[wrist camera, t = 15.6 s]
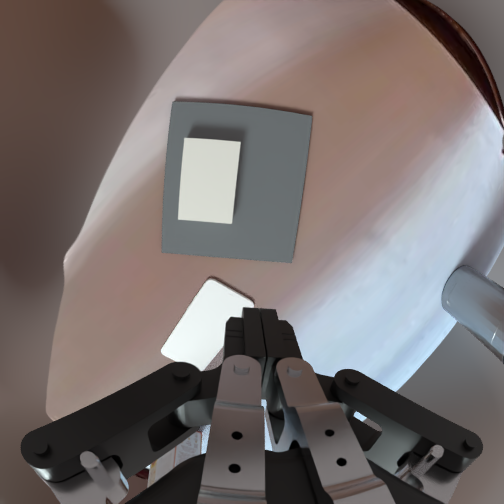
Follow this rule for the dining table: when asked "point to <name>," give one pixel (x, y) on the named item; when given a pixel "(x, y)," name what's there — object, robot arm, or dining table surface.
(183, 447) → the cracker box
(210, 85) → the dining table surface
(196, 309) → the smartphone
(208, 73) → the dining table surface
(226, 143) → the card box
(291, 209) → the mat
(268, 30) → the dining table surface
